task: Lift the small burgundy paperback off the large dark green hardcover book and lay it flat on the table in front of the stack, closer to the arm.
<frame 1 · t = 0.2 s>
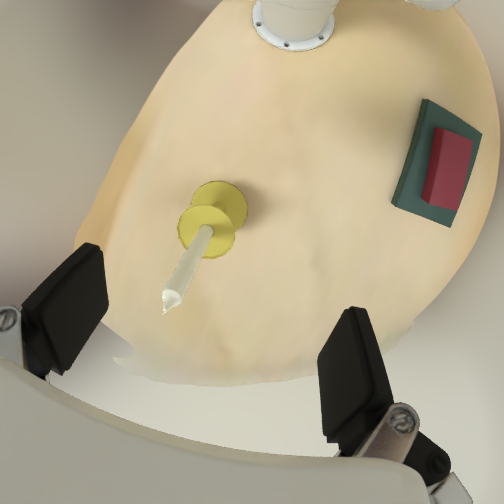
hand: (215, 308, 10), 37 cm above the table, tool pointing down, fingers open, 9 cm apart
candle: (219, 208, 47), on the table
green book: (438, 164, 39), on the table, touching burgundy book
burgundy book: (443, 167, 37), point 2 cm above the table, touching green book
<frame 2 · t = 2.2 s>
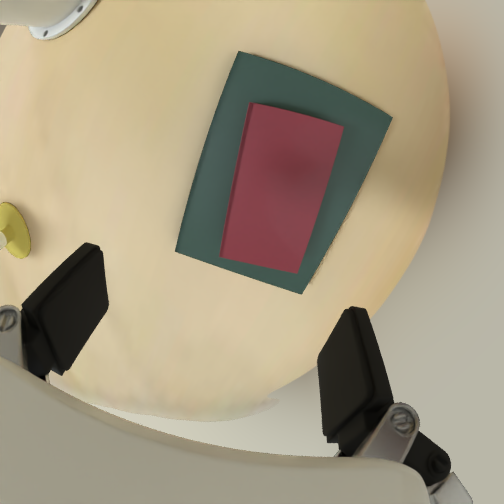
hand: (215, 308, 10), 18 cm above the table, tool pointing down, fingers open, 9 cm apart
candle: (13, 230, 30), on the table
green book: (276, 178, 25), on the table, touching burgundy book
burgundy book: (276, 184, 23), point 2 cm above the table, touching green book
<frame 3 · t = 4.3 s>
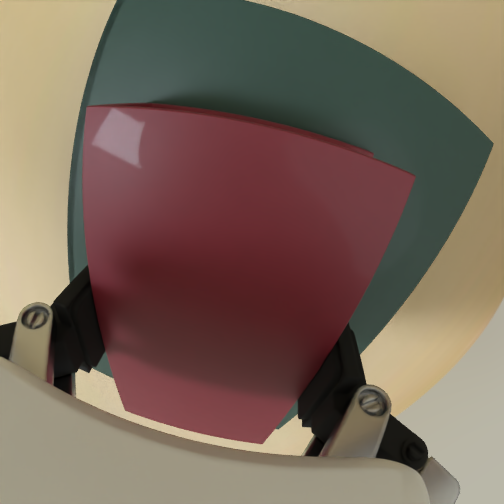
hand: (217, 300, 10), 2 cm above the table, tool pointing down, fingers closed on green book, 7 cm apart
green book: (227, 269, 12), on the table, touching burgundy book, gripper
burgundy book: (218, 297, 10), point 2 cm above the table, touching green book
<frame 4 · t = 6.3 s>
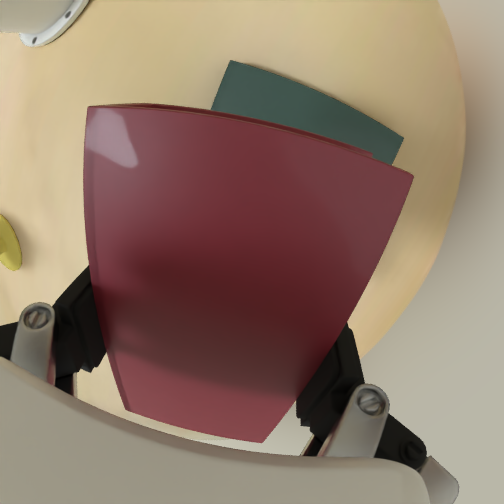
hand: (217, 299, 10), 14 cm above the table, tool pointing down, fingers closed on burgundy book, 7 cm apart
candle: (5, 241, 29), on the table
green book: (271, 204, 23), on the table
burgundy book: (218, 296, 10), point 14 cm above the table, touching gripper
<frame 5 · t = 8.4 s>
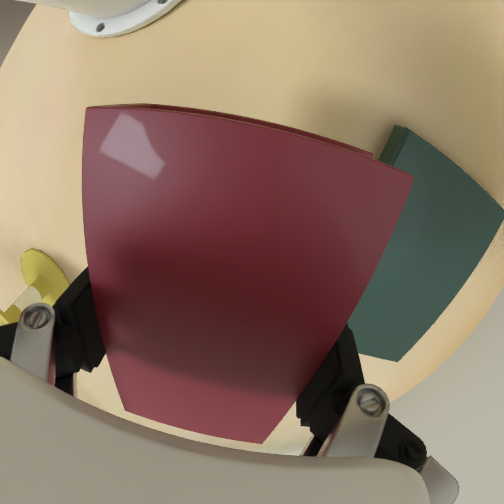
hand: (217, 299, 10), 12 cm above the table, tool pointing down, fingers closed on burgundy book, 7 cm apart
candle: (46, 281, 28), on the table
green book: (402, 263, 22), on the table
burgundy book: (218, 297, 10), point 12 cm above the table, touching gripper
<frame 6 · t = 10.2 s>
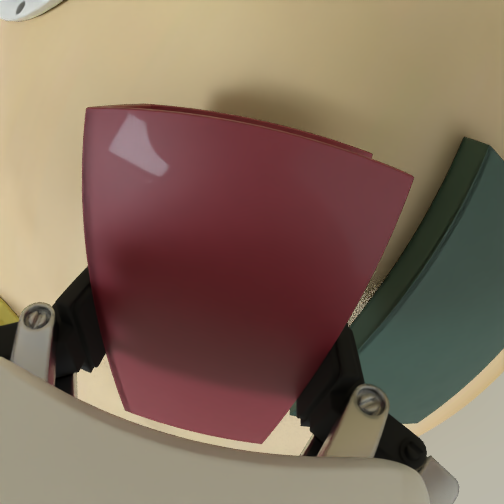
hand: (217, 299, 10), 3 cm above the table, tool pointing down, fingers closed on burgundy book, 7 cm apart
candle: (7, 322, 20), on the table
green book: (443, 326, 14), on the table
burgundy book: (218, 297, 10), point 3 cm above the table, touching gripper
when the fingers open (0 cm above the table, at t = 11.6 s): burgundy book stays where it is, on the table.
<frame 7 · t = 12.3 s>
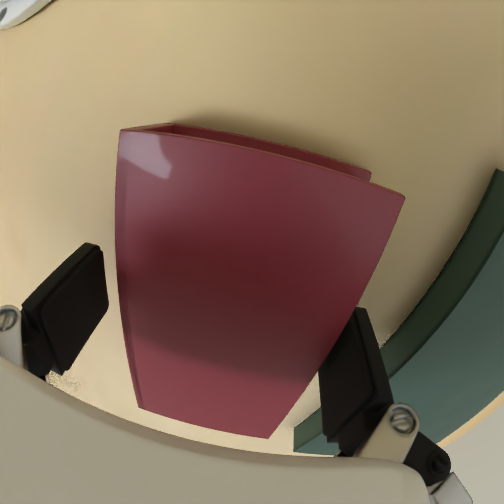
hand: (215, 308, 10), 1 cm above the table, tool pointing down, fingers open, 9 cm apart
green book: (456, 364, 13), on the table
burgundy book: (230, 300, 11), on the table
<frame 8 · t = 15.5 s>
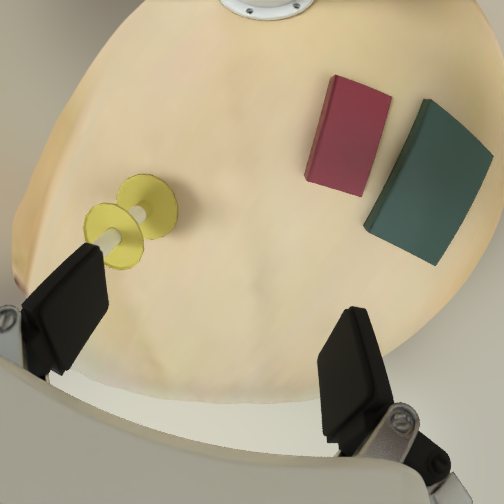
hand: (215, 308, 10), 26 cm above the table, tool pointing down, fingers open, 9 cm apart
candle: (146, 207, 37), on the table
green book: (432, 185, 31), on the table
burgundy book: (344, 134, 30), on the table
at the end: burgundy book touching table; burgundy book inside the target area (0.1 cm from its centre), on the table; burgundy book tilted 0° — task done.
